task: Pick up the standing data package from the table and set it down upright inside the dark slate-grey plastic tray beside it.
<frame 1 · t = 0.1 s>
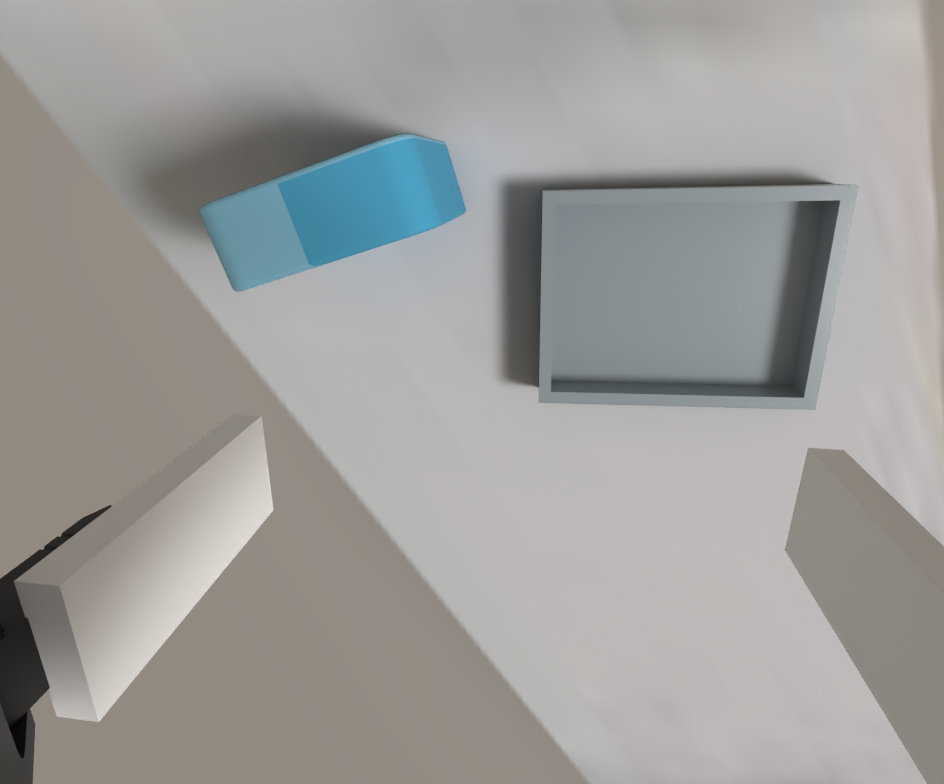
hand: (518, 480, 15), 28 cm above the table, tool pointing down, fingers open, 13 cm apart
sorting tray: (674, 294, 40), on the table
data package: (377, 205, 40), on the table
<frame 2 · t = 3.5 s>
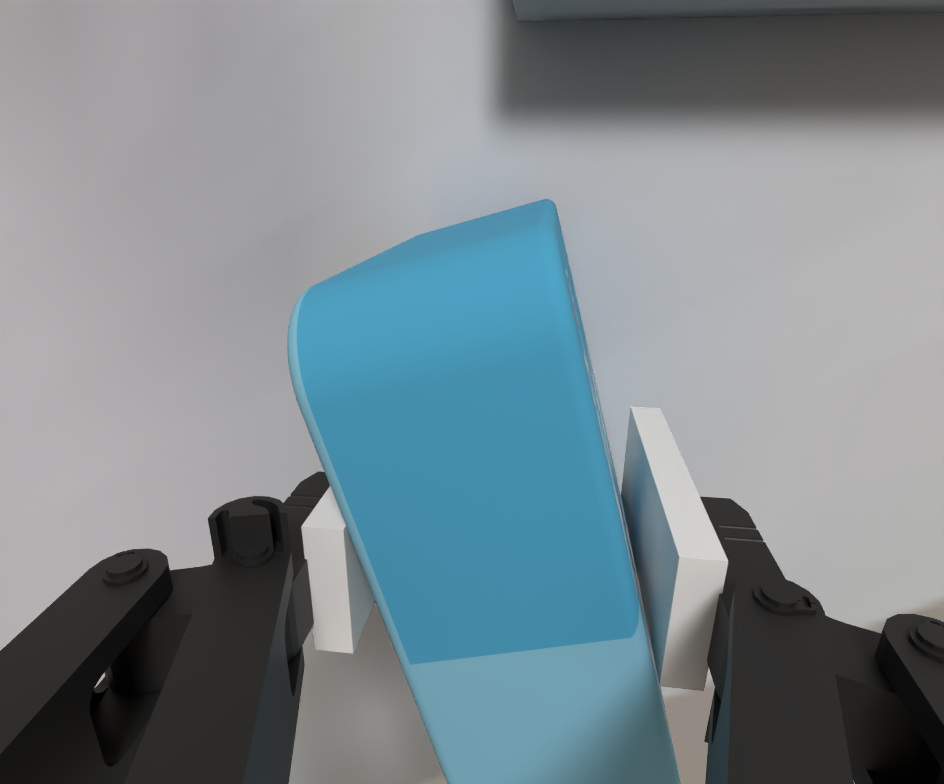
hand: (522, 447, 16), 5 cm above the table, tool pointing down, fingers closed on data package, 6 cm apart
data package: (529, 380, 21), on the table, touching gripper
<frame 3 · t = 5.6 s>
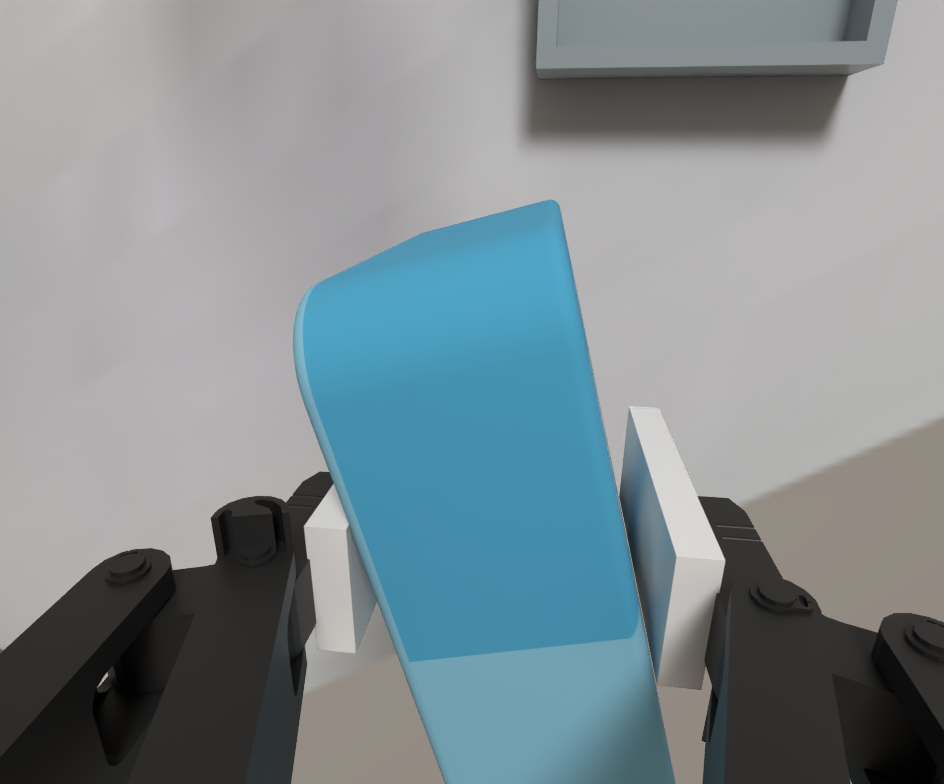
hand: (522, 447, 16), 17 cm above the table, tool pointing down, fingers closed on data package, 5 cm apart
data package: (529, 380, 22), point 11 cm above the table, touching gripper
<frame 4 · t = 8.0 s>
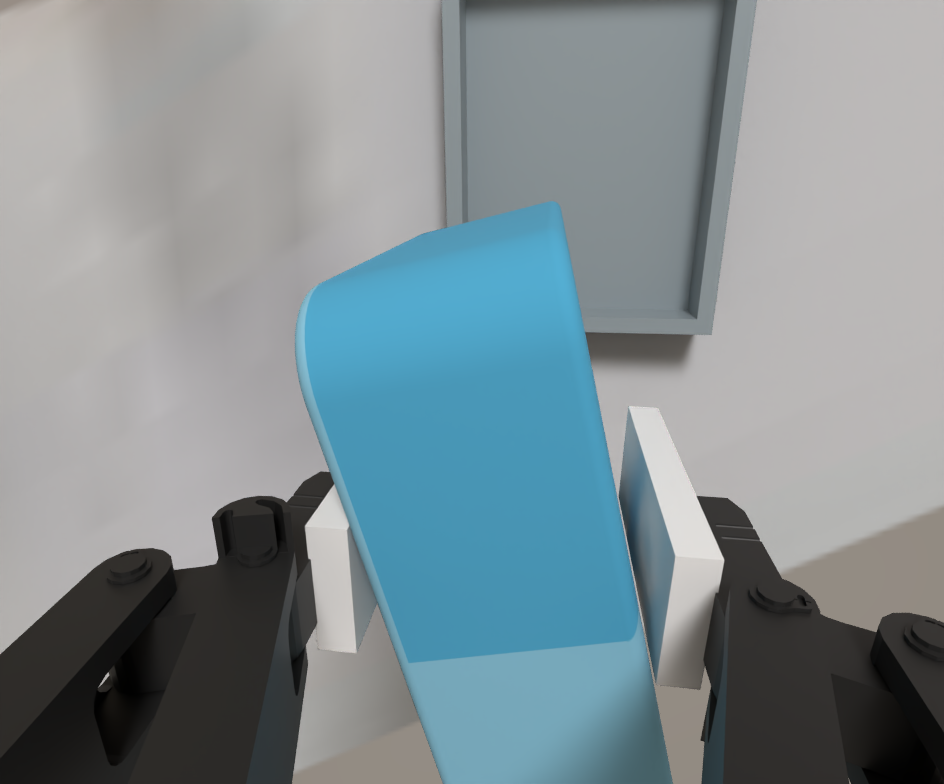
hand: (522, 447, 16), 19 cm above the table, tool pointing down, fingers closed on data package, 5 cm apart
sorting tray: (583, 153, 31), on the table
data package: (529, 381, 22), point 13 cm above the table, touching gripper
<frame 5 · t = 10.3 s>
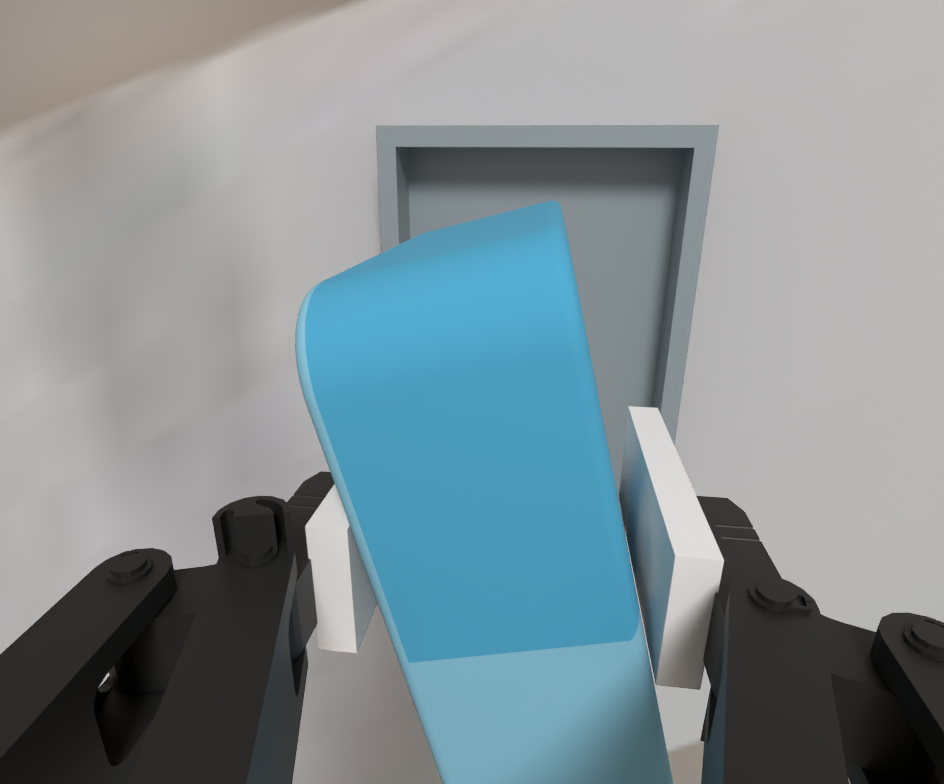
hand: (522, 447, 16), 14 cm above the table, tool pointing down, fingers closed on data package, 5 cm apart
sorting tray: (534, 323, 30), on the table
data package: (530, 380, 22), point 9 cm above the table, touching gripper
when the fingers open (8 cm above the table, at t = 12.4 s): data package drops 2 cm, resting on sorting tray.
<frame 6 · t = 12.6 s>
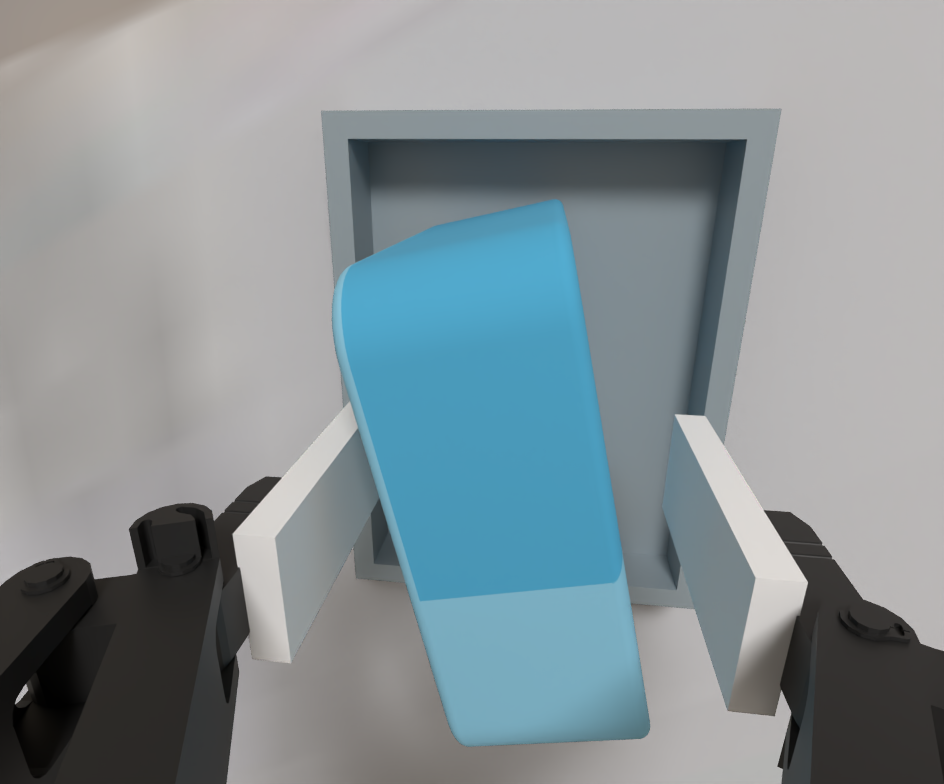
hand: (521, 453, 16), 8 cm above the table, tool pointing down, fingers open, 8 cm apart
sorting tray: (531, 361, 24), on the table
data package: (529, 367, 23), point 1 cm above the table, touching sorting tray
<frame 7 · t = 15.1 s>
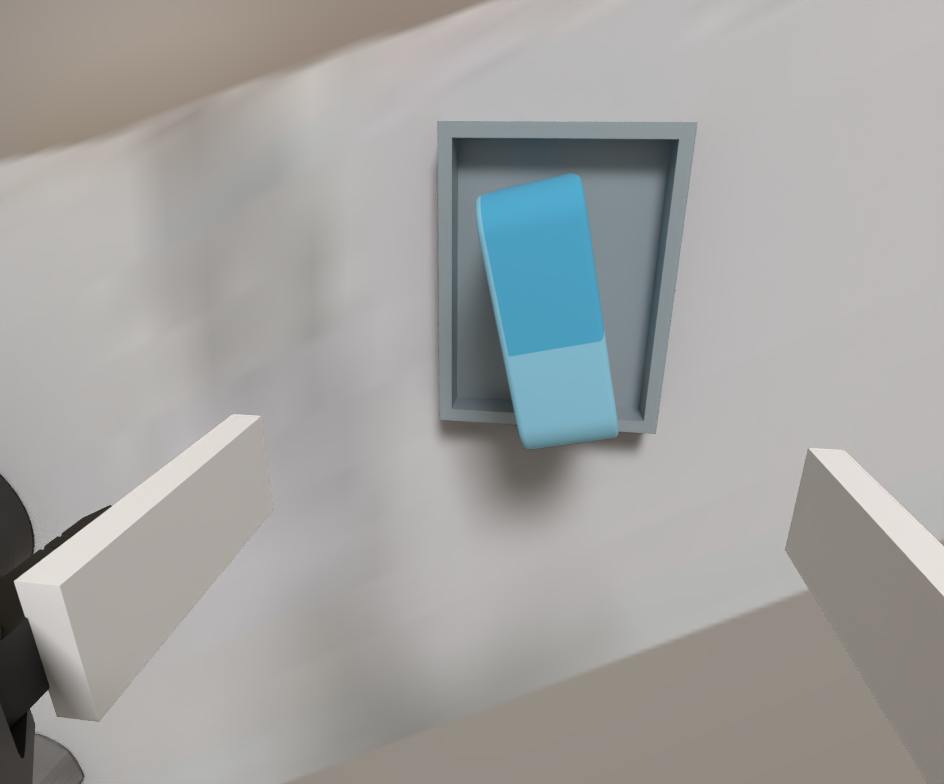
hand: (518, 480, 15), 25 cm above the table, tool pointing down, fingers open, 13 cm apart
coffeepot: (37, 754, 62), on the table
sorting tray: (554, 279, 37), on the table
data package: (552, 281, 37), point 1 cm above the table, touching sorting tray
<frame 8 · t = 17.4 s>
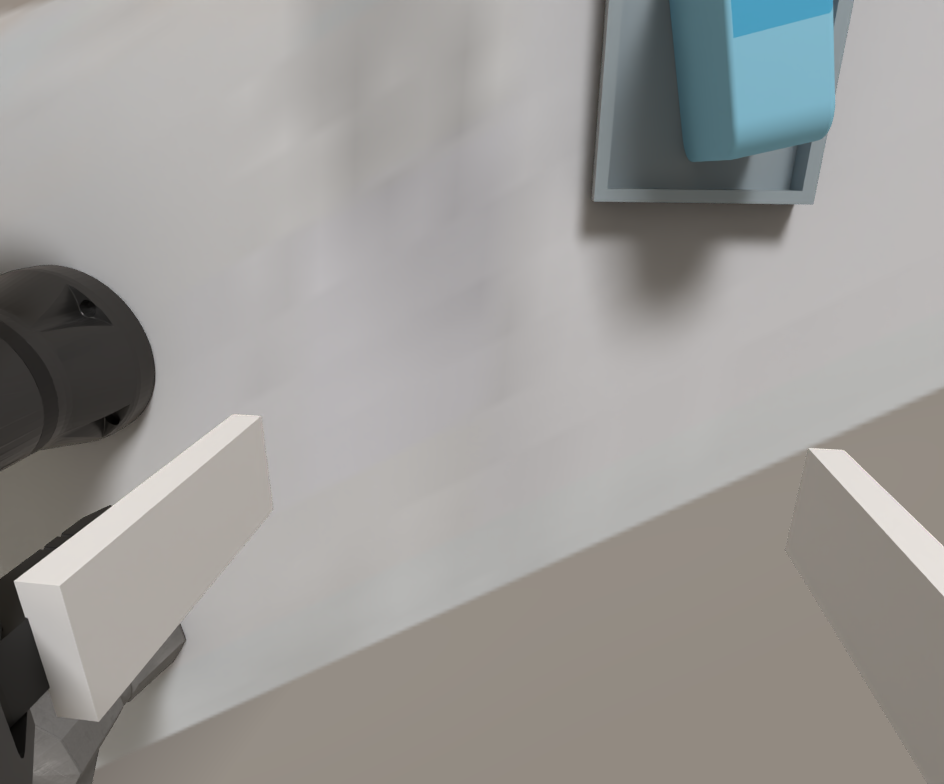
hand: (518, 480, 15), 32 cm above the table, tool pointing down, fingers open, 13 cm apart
coffeepot: (138, 619, 62), on the table
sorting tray: (710, 56, 38), on the table
data package: (710, 55, 37), point 1 cm above the table, touching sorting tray
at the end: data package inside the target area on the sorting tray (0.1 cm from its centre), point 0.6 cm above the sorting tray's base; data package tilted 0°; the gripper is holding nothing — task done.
